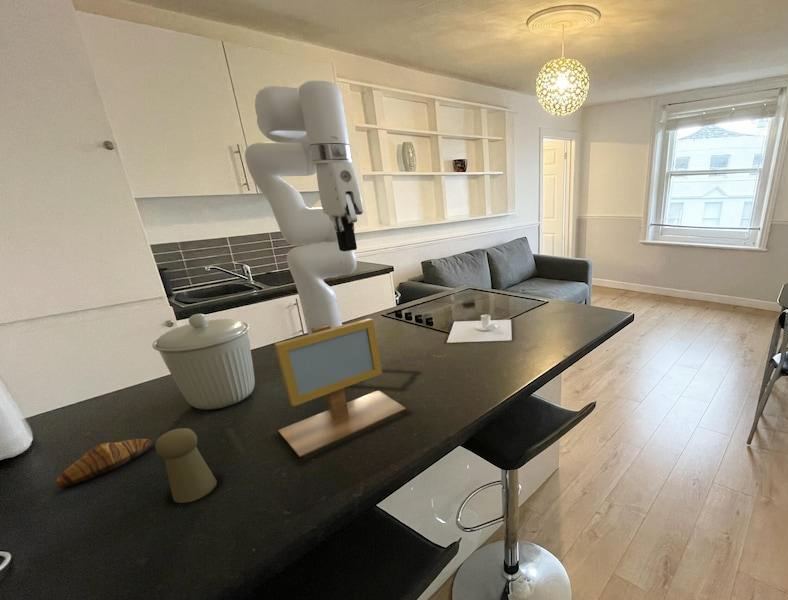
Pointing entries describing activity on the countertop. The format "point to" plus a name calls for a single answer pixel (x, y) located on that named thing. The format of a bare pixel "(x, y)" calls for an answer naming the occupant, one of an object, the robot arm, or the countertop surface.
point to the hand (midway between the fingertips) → (348, 250)
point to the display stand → (338, 418)
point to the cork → (185, 465)
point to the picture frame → (328, 360)
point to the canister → (209, 361)
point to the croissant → (102, 460)
